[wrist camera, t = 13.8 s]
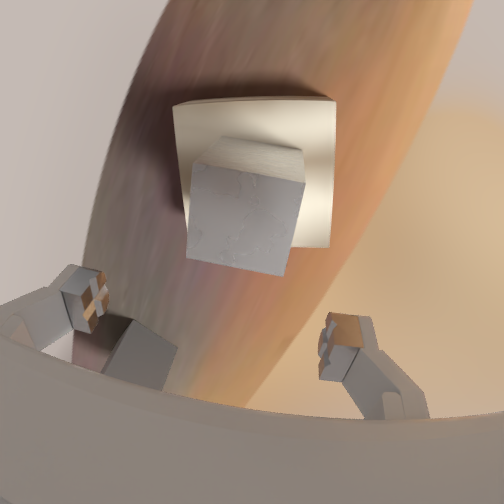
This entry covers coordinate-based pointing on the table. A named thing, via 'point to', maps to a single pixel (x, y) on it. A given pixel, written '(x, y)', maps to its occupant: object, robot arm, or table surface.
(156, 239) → the table surface
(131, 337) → the perfume bottle
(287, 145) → the cream square dish
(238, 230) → the grey block
